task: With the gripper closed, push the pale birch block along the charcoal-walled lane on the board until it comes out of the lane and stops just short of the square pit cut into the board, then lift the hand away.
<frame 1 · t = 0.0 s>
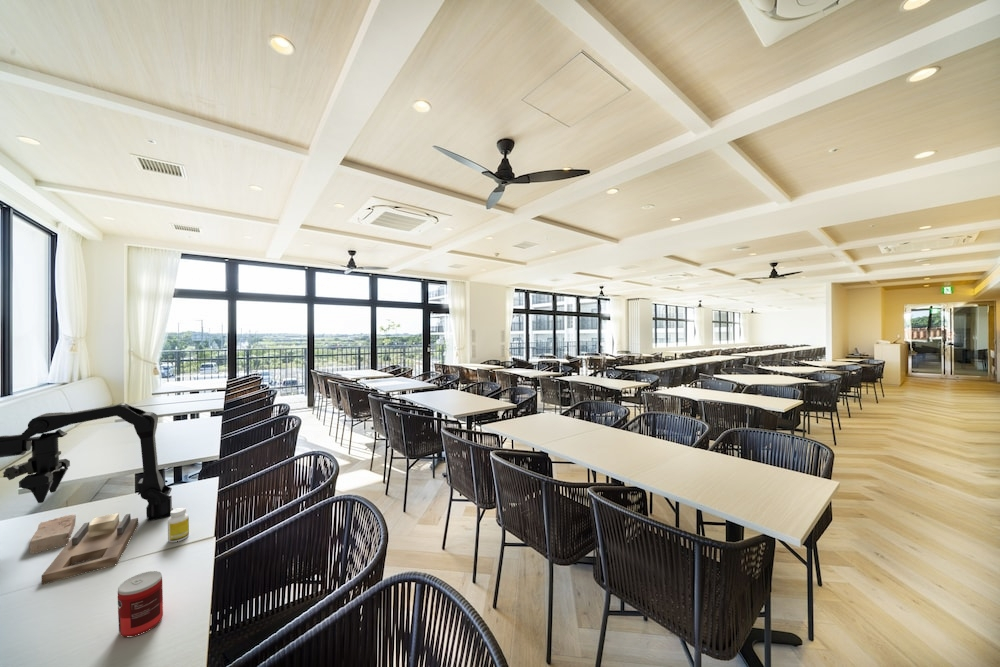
hand: (47, 497, 126), 15 cm above the table, tool pointing down, fingers open, 9 cm apart
lane board: (96, 550, 120), on the table
brick: (54, 540, 127), on the table
supplement bottle: (178, 538, 127), on the table
block: (104, 530, 127), point 2 cm above the table, touching lane board
canned food: (141, 626, 90), on the table
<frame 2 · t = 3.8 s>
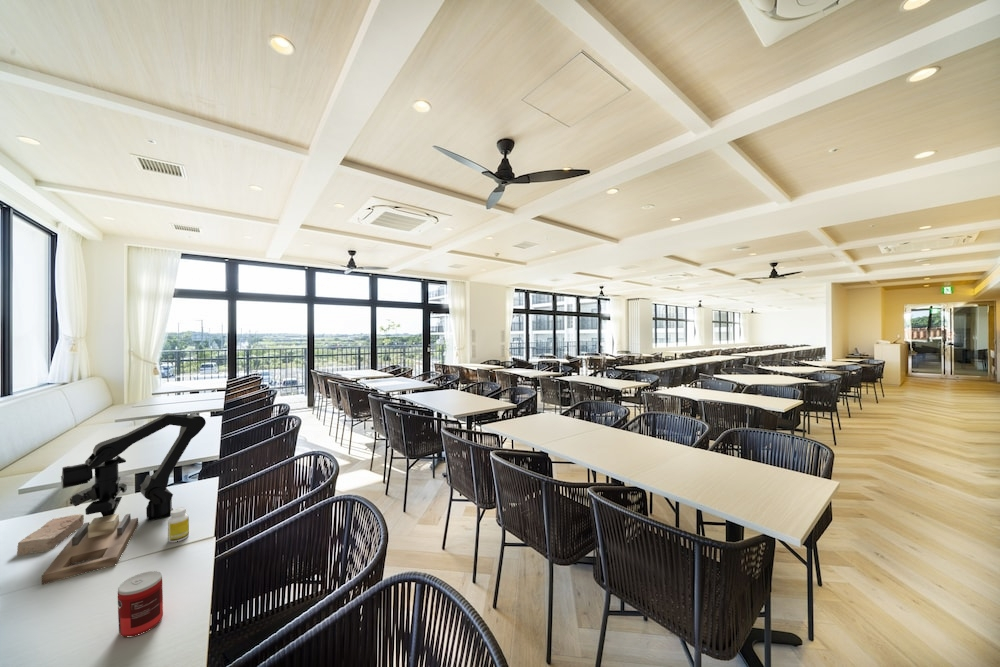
hand: (108, 521, 131), 4 cm above the table, tool pointing down, fingers closed
block: (104, 531, 127), point 3 cm above the table, touching gripper
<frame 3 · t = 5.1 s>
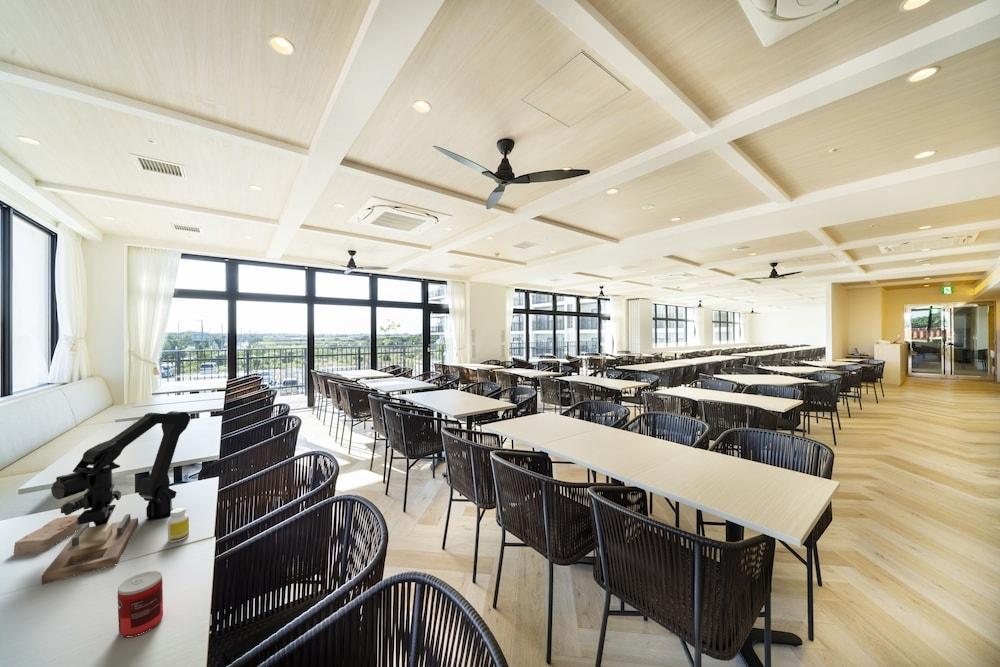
hand: (101, 531, 125), 4 cm above the table, tool pointing down, fingers closed
block: (96, 541, 121), point 2 cm above the table, touching gripper, lane board
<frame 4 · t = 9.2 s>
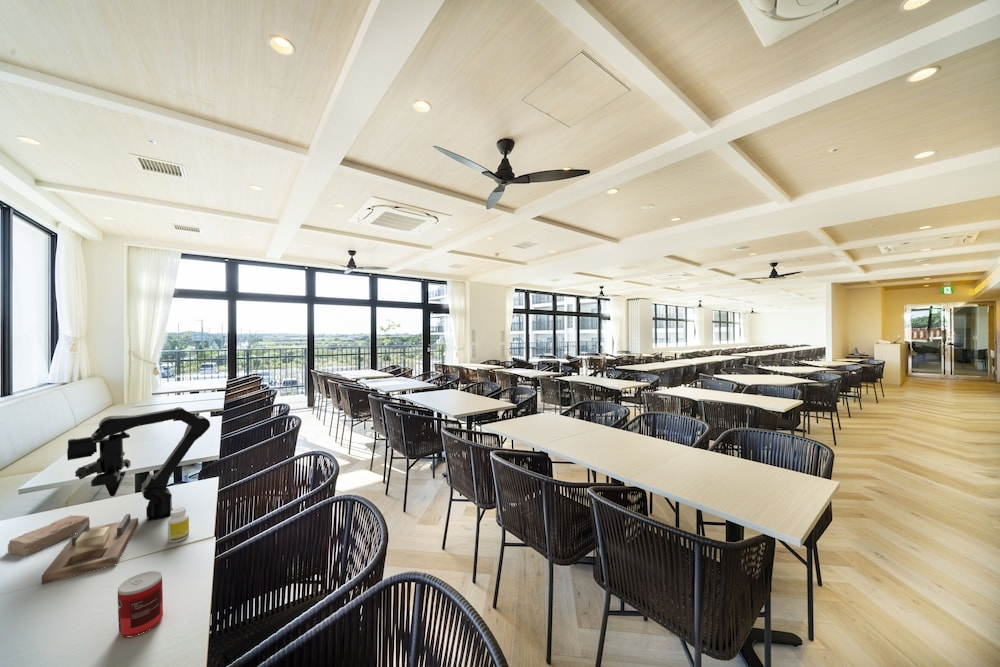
hand: (112, 495, 132), 12 cm above the table, tool pointing down, fingers closed
block: (93, 545, 118), point 2 cm above the table, touching lane board
at the end: block 0.9 cm from the target spot, point 2.5 cm above the table; block tilted 0° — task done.
